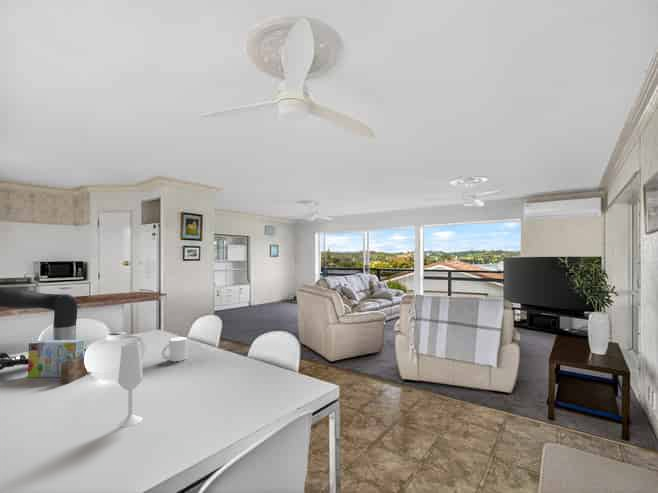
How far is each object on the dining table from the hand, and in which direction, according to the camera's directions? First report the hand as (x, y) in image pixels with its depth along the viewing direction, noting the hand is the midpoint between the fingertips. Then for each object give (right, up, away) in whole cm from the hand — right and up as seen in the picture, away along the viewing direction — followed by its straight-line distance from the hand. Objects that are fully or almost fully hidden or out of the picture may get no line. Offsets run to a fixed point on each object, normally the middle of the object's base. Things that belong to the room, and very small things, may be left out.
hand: (29, 361), depth 149 cm
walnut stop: (+23, -6, -2) cm, 24 cm away
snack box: (+11, -7, +1) cm, 13 cm away
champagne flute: (+69, -4, -43) cm, 81 cm away
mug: (+54, -7, +22) cm, 58 cm away
